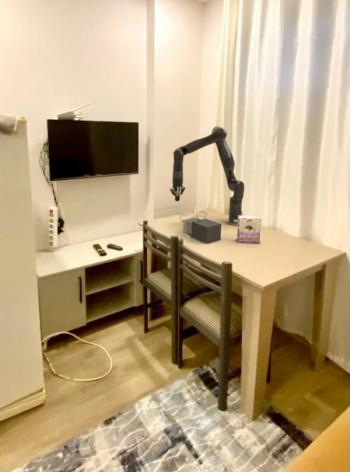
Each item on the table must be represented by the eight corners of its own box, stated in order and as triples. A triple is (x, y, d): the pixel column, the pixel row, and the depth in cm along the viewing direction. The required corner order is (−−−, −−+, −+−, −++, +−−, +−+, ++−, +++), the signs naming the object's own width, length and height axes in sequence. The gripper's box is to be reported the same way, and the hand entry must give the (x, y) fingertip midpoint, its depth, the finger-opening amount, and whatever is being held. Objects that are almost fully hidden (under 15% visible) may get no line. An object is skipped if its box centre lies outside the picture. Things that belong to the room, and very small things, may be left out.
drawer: (178, 230, 223) (179, 217, 221) (191, 227, 230) (191, 215, 228) (196, 237, 209) (196, 224, 208) (208, 233, 216) (209, 221, 215)
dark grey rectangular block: (191, 237, 212) (191, 221, 210) (204, 233, 220) (205, 218, 218) (206, 243, 201) (207, 227, 199) (220, 239, 209) (221, 223, 207)
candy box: (258, 240, 209) (259, 215, 206) (259, 243, 203) (261, 218, 200) (236, 239, 210) (237, 214, 207) (237, 242, 204) (238, 217, 201)
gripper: (173, 178, 220) (173, 203, 223) (188, 177, 228) (187, 200, 231) (167, 177, 226) (166, 201, 229) (181, 175, 234) (181, 198, 237)
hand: (177, 200), depth 230 cm, fingers closed
